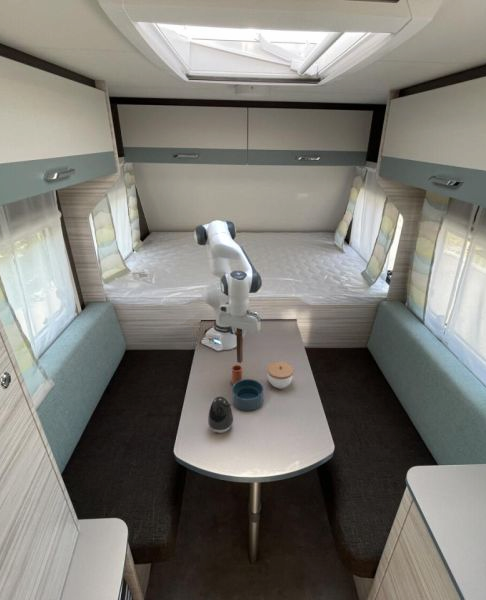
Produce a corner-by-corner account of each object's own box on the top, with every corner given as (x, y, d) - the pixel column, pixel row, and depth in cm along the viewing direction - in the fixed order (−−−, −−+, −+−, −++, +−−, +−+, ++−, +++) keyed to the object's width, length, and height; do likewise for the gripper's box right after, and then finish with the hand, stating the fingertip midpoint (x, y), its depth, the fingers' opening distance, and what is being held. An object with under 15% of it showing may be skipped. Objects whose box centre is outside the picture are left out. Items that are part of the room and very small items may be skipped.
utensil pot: (230, 384, 160) (229, 369, 157) (235, 378, 164) (235, 363, 161) (239, 387, 158) (238, 372, 154) (244, 381, 162) (244, 366, 158)
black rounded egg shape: (223, 441, 128) (222, 410, 122) (203, 430, 133) (201, 400, 127) (238, 424, 136) (237, 395, 130) (218, 415, 141) (217, 386, 135)
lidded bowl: (278, 373, 168) (279, 355, 164) (298, 384, 160) (299, 365, 156) (261, 384, 160) (262, 365, 156) (281, 396, 152) (281, 377, 148)
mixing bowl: (226, 405, 146) (225, 393, 144) (242, 387, 158) (242, 375, 155) (254, 416, 140) (254, 403, 138) (268, 396, 152) (268, 384, 149)
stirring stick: (236, 362, 152) (236, 328, 145) (239, 359, 154) (238, 326, 147) (240, 363, 151) (240, 329, 144) (242, 361, 153) (242, 327, 146)
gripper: (263, 310, 139) (263, 338, 145) (223, 300, 148) (224, 327, 154) (256, 316, 134) (256, 344, 140) (215, 306, 143) (217, 333, 149)
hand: (239, 335), depth 147 cm, fingers closed on stirring stick, 2 cm apart
